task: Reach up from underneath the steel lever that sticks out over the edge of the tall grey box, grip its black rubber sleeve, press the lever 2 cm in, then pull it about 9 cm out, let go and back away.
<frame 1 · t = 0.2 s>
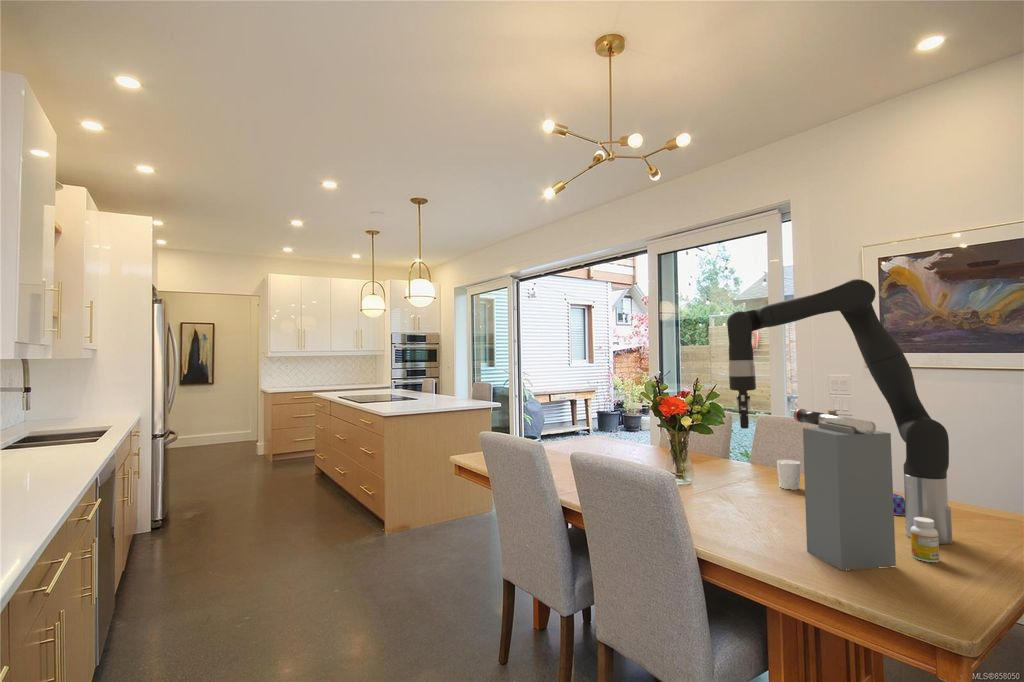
hand: (744, 426, 157), 29 cm above the table, tool pointing down, fingers open, 8 cm apart
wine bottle: (835, 492, 185), on the table
white cup: (789, 488, 192), on the table
pudding: (892, 512, 163), on the table
tall grey box: (849, 558, 126), on the table
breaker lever: (831, 421, 131), point 34 cm above the table, slide at 0.0 cm
supplement bottle: (925, 559, 125), on the table
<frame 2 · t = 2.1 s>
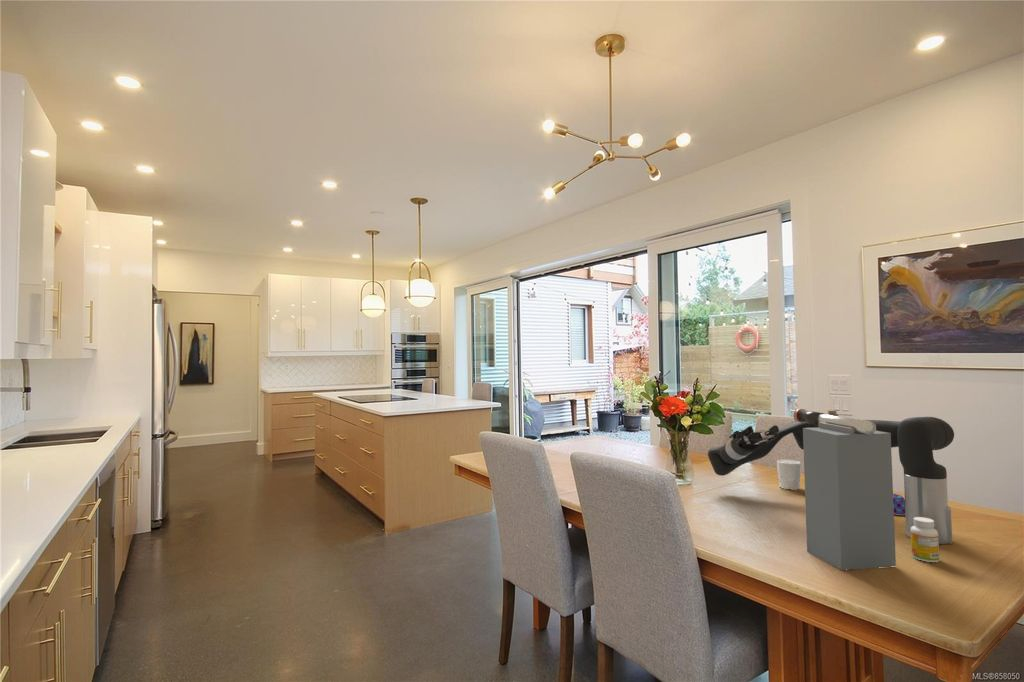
hand: (764, 428, 160), 28 cm above the table, tool pointing upward, fingers open, 8 cm apart
nothing on the table moved.
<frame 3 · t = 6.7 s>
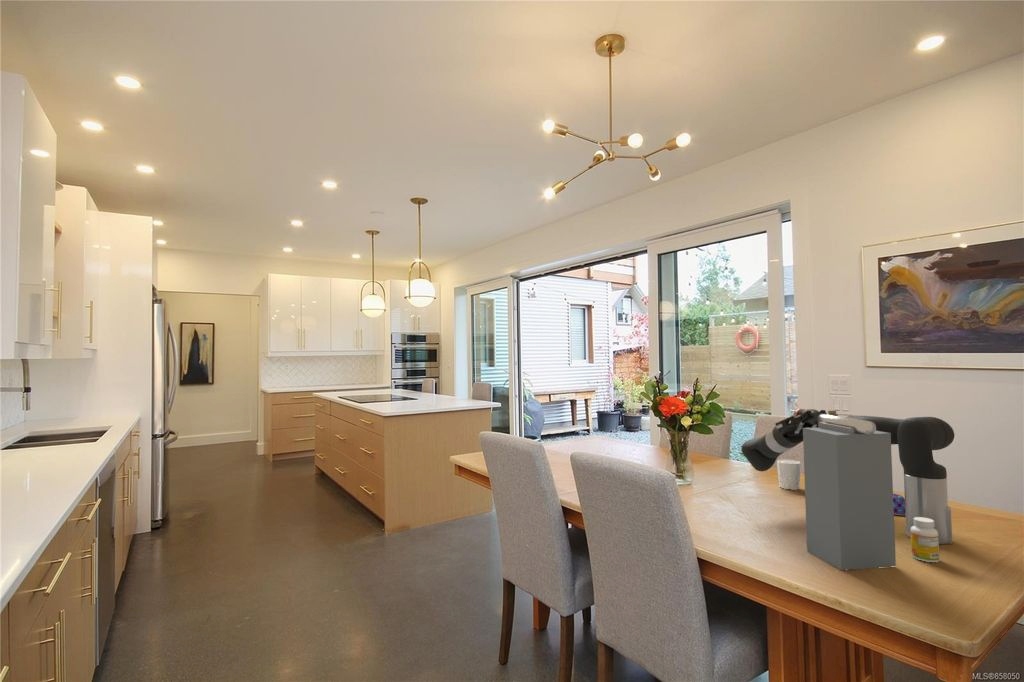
hand: (818, 413, 136), 35 cm above the table, tool pointing upward, fingers closed on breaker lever, 3 cm apart
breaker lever: (831, 421, 131), point 34 cm above the table, slide at 0.0 cm, touching gripper
everything else where it was.
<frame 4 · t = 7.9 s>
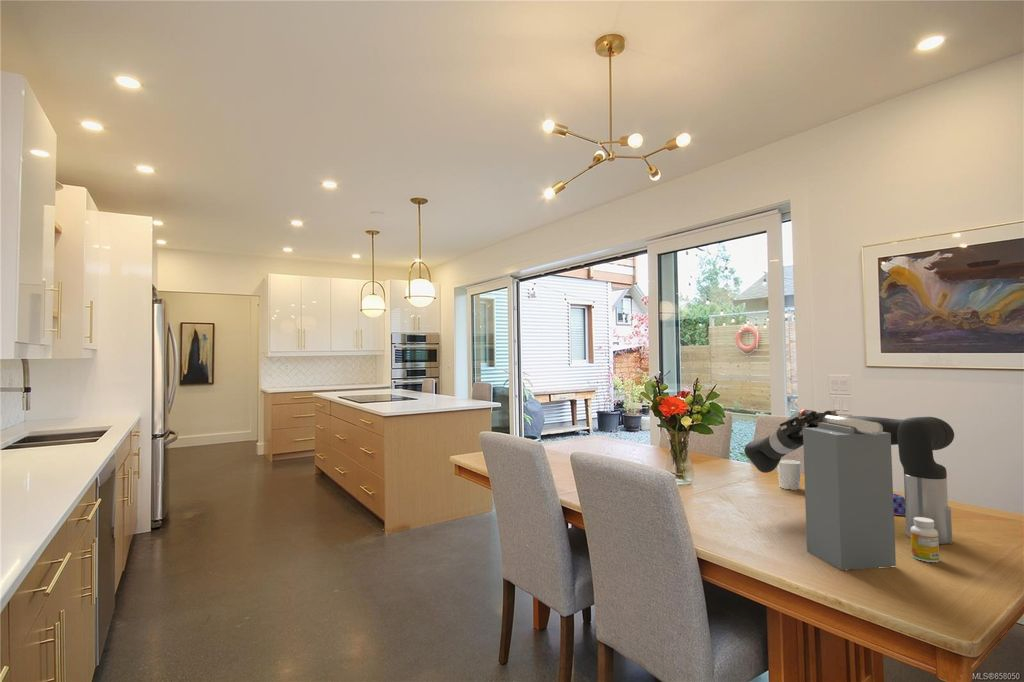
hand: (823, 414, 134), 35 cm above the table, tool pointing upward, fingers closed on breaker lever, 3 cm apart
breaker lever: (837, 422, 129), point 34 cm above the table, slide at -2.0 cm, touching gripper
everything else where it was.
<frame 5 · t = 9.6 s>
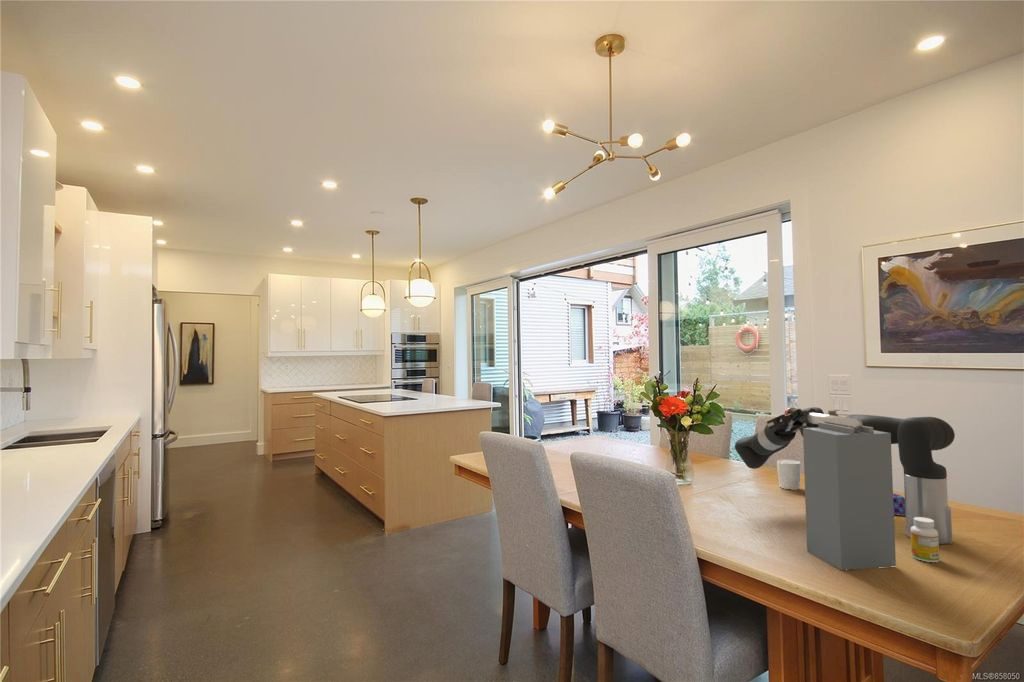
hand: (807, 411, 140), 35 cm above the table, tool pointing upward, fingers closed on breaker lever, 3 cm apart
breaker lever: (820, 419, 135), point 34 cm above the table, slide at 4.1 cm, touching gripper
everything else where it was.
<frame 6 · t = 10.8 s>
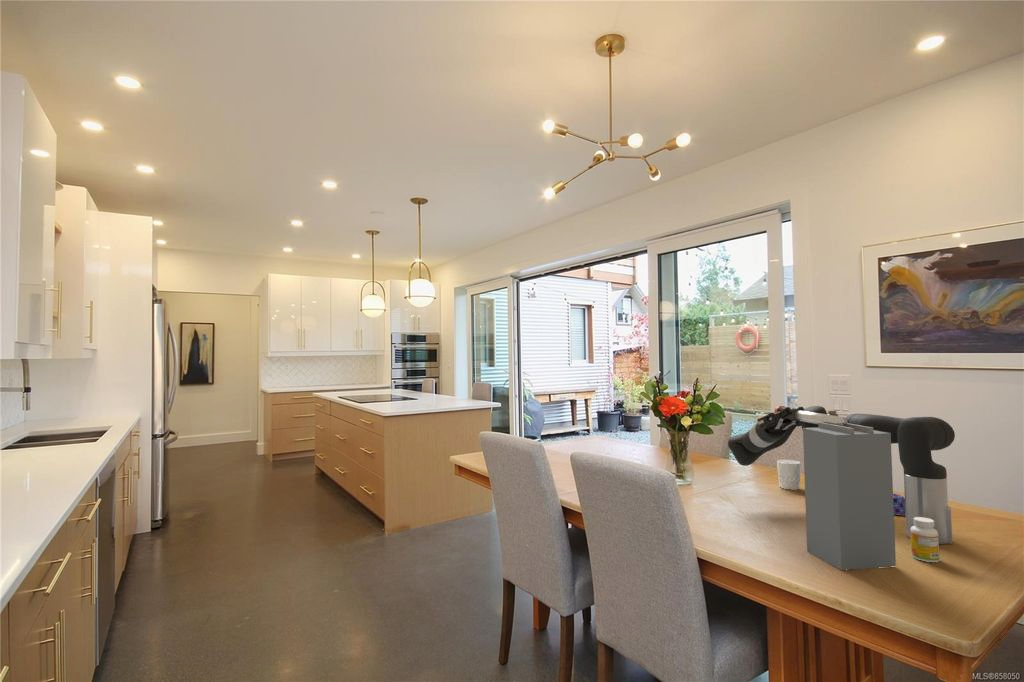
hand: (796, 409, 145), 35 cm above the table, tool pointing upward, fingers closed on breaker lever, 3 cm apart
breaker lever: (808, 416, 140), point 34 cm above the table, slide at 8.9 cm, touching gripper
everything else where it was.
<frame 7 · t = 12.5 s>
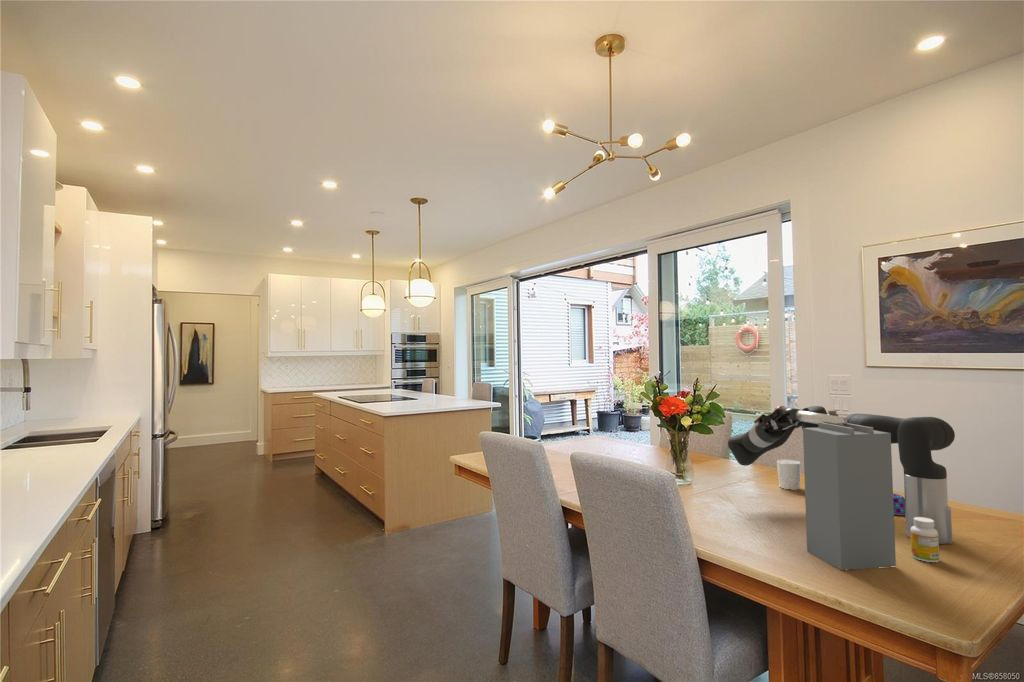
hand: (794, 411, 146), 35 cm above the table, tool pointing upward, fingers open, 8 cm apart
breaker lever: (808, 416, 140), point 34 cm above the table, slide at 9.0 cm
everything else where it was.
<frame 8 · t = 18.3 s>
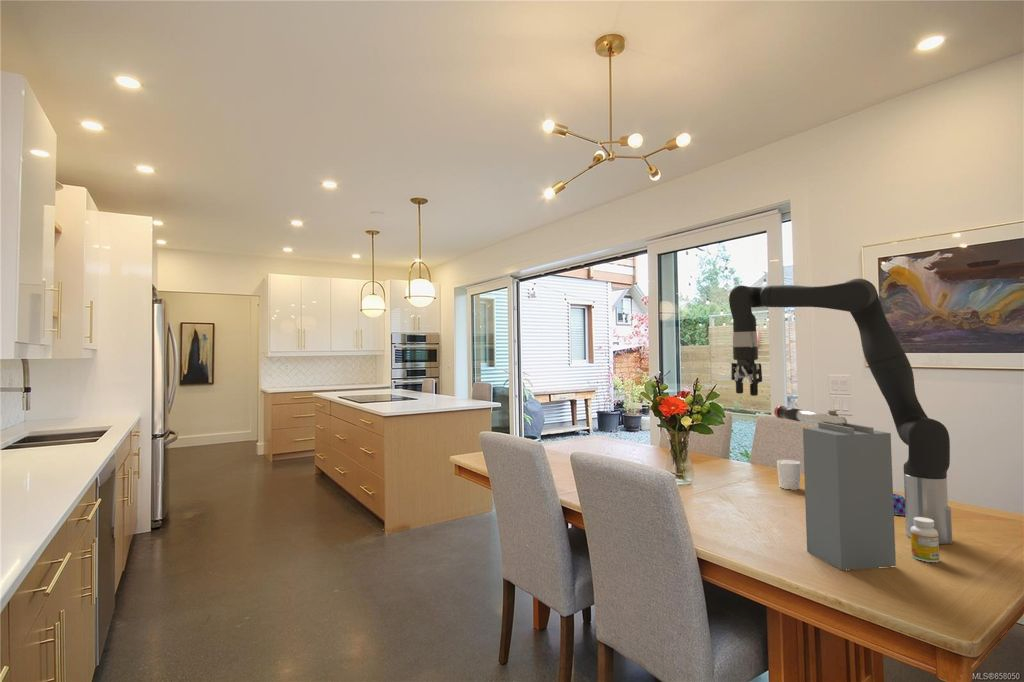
hand: (746, 394, 167), 38 cm above the table, tool pointing down, fingers open, 8 cm apart
at the end: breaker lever slide at 9.0 cm; the gripper is holding nothing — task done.
